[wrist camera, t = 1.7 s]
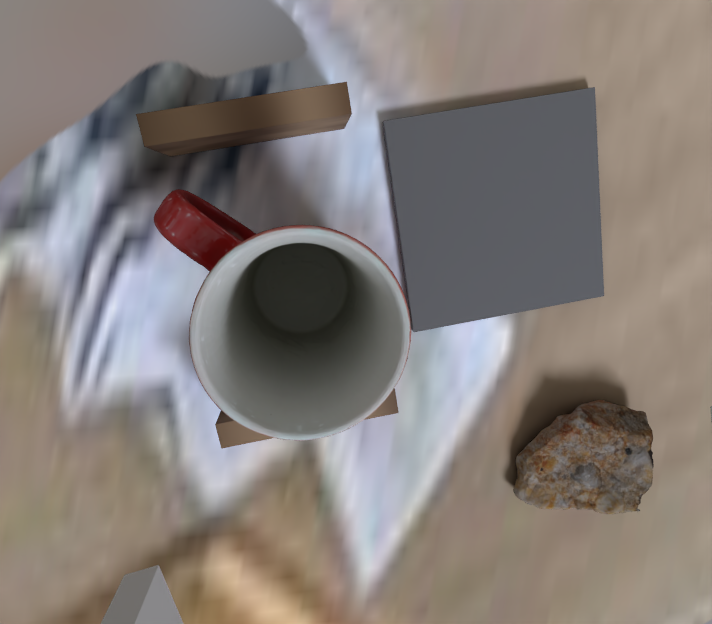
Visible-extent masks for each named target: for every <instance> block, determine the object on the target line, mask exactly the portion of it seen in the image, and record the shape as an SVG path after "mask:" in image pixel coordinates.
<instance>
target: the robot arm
mask: <svg viewBox="0 0 712 624" xmlns="http://www.w3.org/2000/svg"><path fill="white" fill-rule="evenodd" d="M711 420H712V406H711ZM101 624H183V622H182V619H181V617H180V615H179V612H178V610H177V607H176V605H175V603H174V600H173V598H172V596H171V593H170V591H169V589H168V586H167V584H166V581H165V579H164V577H163V574H162V572H161V570H160V567H159V565H157V566H154V567H151V568H147V569H144V570H140V571H137V572H133V573H130V574H126V575H124V577H123V579H122V581H121V584H120V586H119V588H118V590H117V592H116V594H115V596H114V598H113V600H112V602H111V604H110V606H109V608H108V610H107V612H106V614H105V616H104V618H103V620H102V622H101Z"/></svg>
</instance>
